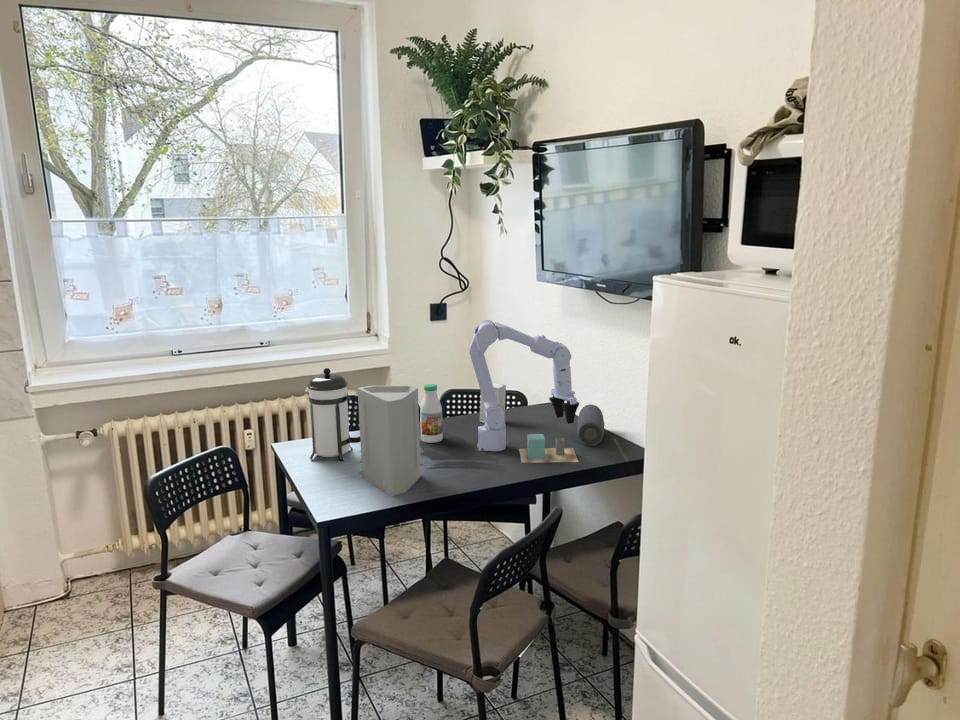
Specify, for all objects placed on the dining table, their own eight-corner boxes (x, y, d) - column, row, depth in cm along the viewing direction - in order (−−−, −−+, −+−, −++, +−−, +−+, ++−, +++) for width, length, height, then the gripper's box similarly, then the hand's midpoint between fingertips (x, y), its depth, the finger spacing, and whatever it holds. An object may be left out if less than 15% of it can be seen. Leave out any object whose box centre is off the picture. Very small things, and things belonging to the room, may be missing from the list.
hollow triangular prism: (435, 483, 209) (433, 393, 203) (391, 496, 201) (387, 401, 195) (403, 465, 224) (400, 380, 218) (361, 476, 216) (356, 388, 210)
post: (556, 455, 227) (556, 440, 226) (555, 452, 230) (555, 438, 229) (564, 455, 227) (564, 440, 226) (563, 452, 230) (563, 437, 229)
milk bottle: (416, 439, 249) (414, 385, 245) (433, 434, 254) (432, 381, 250) (429, 444, 243) (428, 389, 239) (447, 439, 248) (446, 385, 244)
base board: (521, 467, 222) (521, 462, 221) (519, 452, 234) (519, 448, 234) (578, 466, 222) (578, 461, 221) (572, 452, 234) (573, 448, 234)
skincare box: (479, 422, 267) (479, 384, 264) (486, 418, 273) (486, 381, 269) (499, 425, 264) (499, 387, 260) (506, 421, 269) (506, 383, 266)
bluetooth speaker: (604, 450, 236) (605, 422, 234) (576, 449, 237) (577, 421, 235) (603, 429, 258) (604, 403, 256) (577, 428, 259) (578, 402, 257)
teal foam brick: (528, 459, 224) (528, 439, 223) (527, 453, 229) (527, 434, 228) (544, 459, 224) (544, 439, 223) (543, 453, 229) (543, 434, 228)
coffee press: (319, 468, 223) (314, 376, 216) (302, 454, 236) (296, 366, 229) (370, 457, 232) (365, 368, 226) (350, 444, 245) (346, 360, 239)
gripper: (583, 383, 226) (586, 423, 229) (563, 374, 240) (565, 412, 243) (564, 386, 224) (567, 427, 227) (544, 377, 237) (547, 416, 240)
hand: (565, 420), depth 235 cm, fingers open, 7 cm apart
